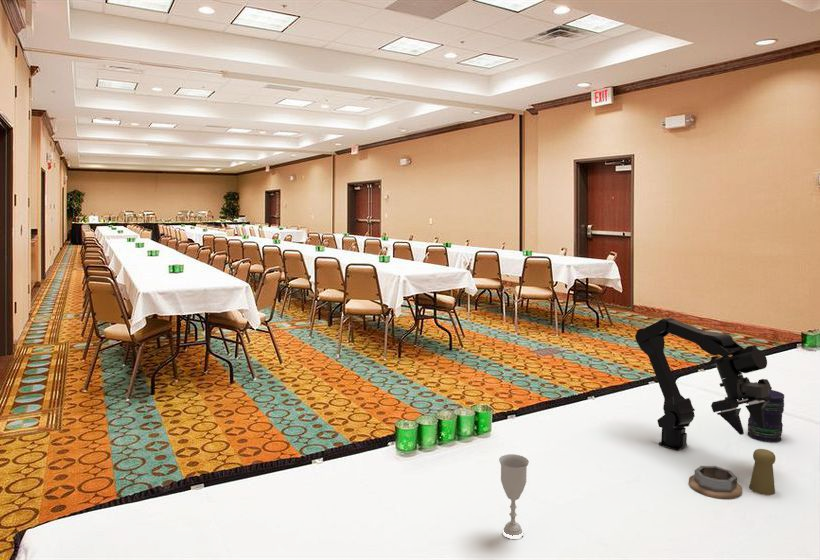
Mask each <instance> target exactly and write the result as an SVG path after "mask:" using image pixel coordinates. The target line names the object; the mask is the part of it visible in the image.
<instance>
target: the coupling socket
mask: <svg viewBox="0 0 820 560" xmlns="http://www.w3.org/2000/svg"><path fill="white" fill-rule="evenodd" d="M688 486H689V487H690V488H691V489H692V490H693V491H695V492H697V493H698V494H701V495H704V496H705V497H710V498H714V499H720V500H733V499H734V500H735V499H737V498H739V497H741V496H742V495H743V486H742V485H741V484H740V483H739V482H738V476H737V475H736V474H734V472H733V471H732V470H729V469H726V468H722V467H720V466H717V465H700V466H699V467H697V468H696V469H694V474H692V475H690V477H688Z"/></svg>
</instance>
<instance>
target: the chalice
mask: <svg viewBox="0 0 820 560" xmlns="http://www.w3.org/2000/svg"><path fill="white" fill-rule="evenodd" d="M498 462H499V463H500V483H501V485H502V489H503V490H504V493H505V496H506V498H508V500H510V502H511V503H510V505H509V508H510V513H508V514H509V516H510V520H509V521H508V522H506V524H505V525H504V527H503V530H504V532H505V533H506V534H509V535H512V536H513V535H519V534H521V533H522V532H523V530H522V526H521V525H520V524H519V523H518V522H517V521H516V517H517V515H518V514H517V512H516V509H517V506H516V501H518V500H519V499H520V497H521V495H522V494H523V492H524V490H525V486H526V485H527V484H526V483H527V467H528V465H529V462H530V461H529V459H528V458H527V457H525V456H523V455H520V454H511V453H510V454H504V455H501V456H500V457H499V458H498Z"/></svg>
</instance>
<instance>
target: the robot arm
mask: <svg viewBox="0 0 820 560" xmlns="http://www.w3.org/2000/svg"><path fill="white" fill-rule="evenodd" d="M668 335H673V336H676V337H678V338H681V339H683V340H686V341H689V342H691V343H693V344H696V345H697V346H698V347H700V349H701V350H702V351H704V352H706V353H707V354H709V355H711V358H710V360H709V362H708V363H707V365H708V366H714V365H715V367H716V369H717V372H718V374H719V375H718V376H719V378H720V380H721V383H719V387H721V388H722V387H723V389H724V391H725V393H726V396H727V397H724V399H720V400H717V401H713V402H712V403H711V405H710V407H711V411H712V413H716V414H717V416H720V417H721V418H722V419H723V420H725V421H726V422H727V424H729V425H730V426H731V427H732V429H734V430H735V431H736V432H737V433H738V434H739V435H741V436H742V435H744V434H745V432H744V428H743V424H742V421H741V418H740V412H741V410H742V408H741V407H739V405H744V404H747V405H745V408H746V410H747V411H748V413H749V415H750V414H751V416H752V417H753V419H754V420H755V422H756V423H757V425H758V426H759V428H760V429H763V428H764V408H765V406H766V404H767V403H769V401H764V400H768V399H771V397H770V394H769V391H770V390H773V388H772V386H771V384H770V383H771V382H769V380H768V378H767V379H766V378H761V379H758V381H754V382H751V381H750V379H749V377H747V376H746V377H744V375H743V374H749V373H752V372H756V371H759V370H764V369H766V368H767V366H768V360H767V356H766V355H765V354H764V352H763V351H762V350H761V349H758V348H757V345H755V344H753V345H748V346H747V347H745V348H744V347H743V346H741V345H740V344H739V343H738V342H736V341H735V340H734V339H733V337H732V336H731V335H730V334H729V333H728V334H727V333H723V332H719V331H718V332H716V331H706V330H703V329H700V328H698V327H695V326H693V325H689V324H687V323H684V322H683V321H682V322H681V321H679V320H676V319H674V318H672V317H668V318H667V317H666V318H661V319H660V320H658V321H657V322H655V323H652V324H650V325H648V326H646V327H642V328H639V329H638V330H637V331H636V333H635V335H634V338H635V341H636V343H637V344H638V348H640V350H641V351H642V352H644V353H645V354H646V355H647V357H648V359H649V362H650V364H651V366H652V370H653V372H654V374H655V378H656V381H657V383H658V385H659V388H660V390H661V393H662V395H663V399H664V400H663V406H662V409H663V414H664V415H662V416H661V417H659V418H658V419H657V424H658V427H659V428H661V436H660V439H661V441H660V442H658V445H659V446H662V447H666V448H669V449H672V450H676V451H680V450H682V449H683V448H686V447H687V446H688V443H687V438H688V434H687V432H686V430H687V429H686V427H687V428H688V427H690V424H691V423H692V422H693V420H694V418H695V411H696V409H695V407H693V404H692V400H691V399H690V397H688V398H685V397H684V396H683V395H681V393H680V390H679V387H678V385H677V383H676V380H675V378H674V374H673V372H672V369H671V366H670V365H669V362H668V359H667V357H666V354H665V343H666V341H665V337H667V336H668Z"/></svg>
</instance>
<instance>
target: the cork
mask: <svg viewBox="0 0 820 560" xmlns="http://www.w3.org/2000/svg"><path fill="white" fill-rule="evenodd" d="M776 457H777V456H776V455H775V453H774V452H773V451H772V450H769V449H765V448H757V449H755V450H754V451H753V454H752V458H753V461H754V464H753V469H752V473H751V478H750V483H749V486H748V488H749V489H750V491H751V492H754V493H756V494H759V495H763V494H764V495H763V496H773V495H775V493H776V485H775V476H774V474H775V473H774V465H773V464H775V462H776V459H777V458H776Z"/></svg>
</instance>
